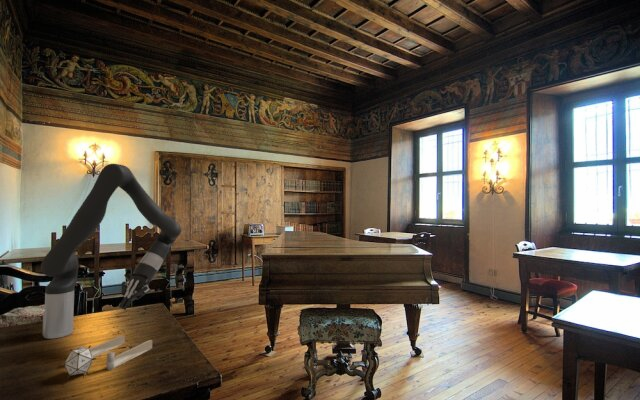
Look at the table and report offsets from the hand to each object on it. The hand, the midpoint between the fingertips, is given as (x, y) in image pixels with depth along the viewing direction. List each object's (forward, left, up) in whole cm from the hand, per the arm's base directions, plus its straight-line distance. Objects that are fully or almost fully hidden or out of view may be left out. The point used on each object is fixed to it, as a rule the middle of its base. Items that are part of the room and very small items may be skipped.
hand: (122, 308), depth 119 cm
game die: (+3, -18, -15) cm, 23 cm away
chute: (+2, -3, -15) cm, 15 cm away
